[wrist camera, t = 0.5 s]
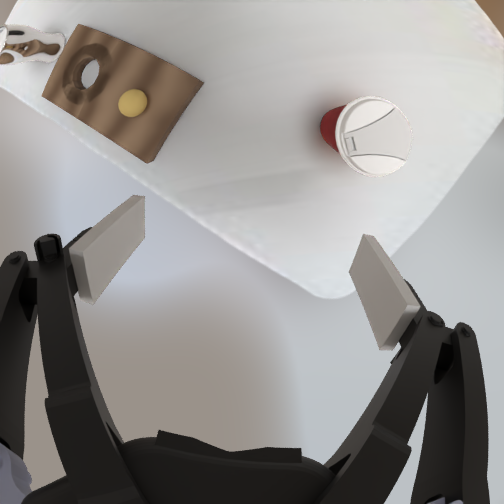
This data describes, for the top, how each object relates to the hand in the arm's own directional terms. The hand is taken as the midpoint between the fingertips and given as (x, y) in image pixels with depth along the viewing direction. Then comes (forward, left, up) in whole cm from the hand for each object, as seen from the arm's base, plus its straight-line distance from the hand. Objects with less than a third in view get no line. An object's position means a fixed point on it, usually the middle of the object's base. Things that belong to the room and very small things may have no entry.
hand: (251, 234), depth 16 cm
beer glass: (-32, -32, -25) cm, 51 cm away
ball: (-13, -15, -21) cm, 28 cm away
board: (-18, -20, -25) cm, 36 cm away
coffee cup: (-4, +12, -25) cm, 28 cm away
